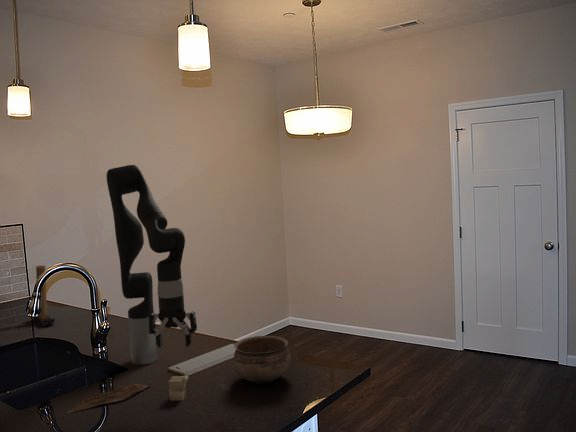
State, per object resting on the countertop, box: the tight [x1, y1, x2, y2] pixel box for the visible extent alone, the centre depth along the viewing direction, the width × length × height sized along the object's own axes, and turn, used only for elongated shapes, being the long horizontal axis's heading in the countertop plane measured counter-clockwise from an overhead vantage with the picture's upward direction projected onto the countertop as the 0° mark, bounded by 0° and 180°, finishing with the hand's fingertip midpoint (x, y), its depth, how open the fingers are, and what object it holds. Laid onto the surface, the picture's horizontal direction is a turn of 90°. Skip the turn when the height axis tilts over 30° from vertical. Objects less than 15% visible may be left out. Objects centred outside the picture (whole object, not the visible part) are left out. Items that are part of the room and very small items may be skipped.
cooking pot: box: [232, 335, 292, 385], centre depth 171 cm, size 25×19×12 cm
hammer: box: [32, 265, 56, 328], centre depth 253 cm, size 20×5×30 cm, turn 42°
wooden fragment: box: [67, 383, 150, 414], centre depth 163 cm, size 26×11×1 cm, turn 128°
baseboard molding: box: [167, 343, 236, 377], centre depth 192 cm, size 31×3×12 cm
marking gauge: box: [168, 375, 190, 402], centre depth 164 cm, size 12×4×6 cm, turn 176°
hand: (174, 346), depth 159 cm, fingers open, 8 cm apart
